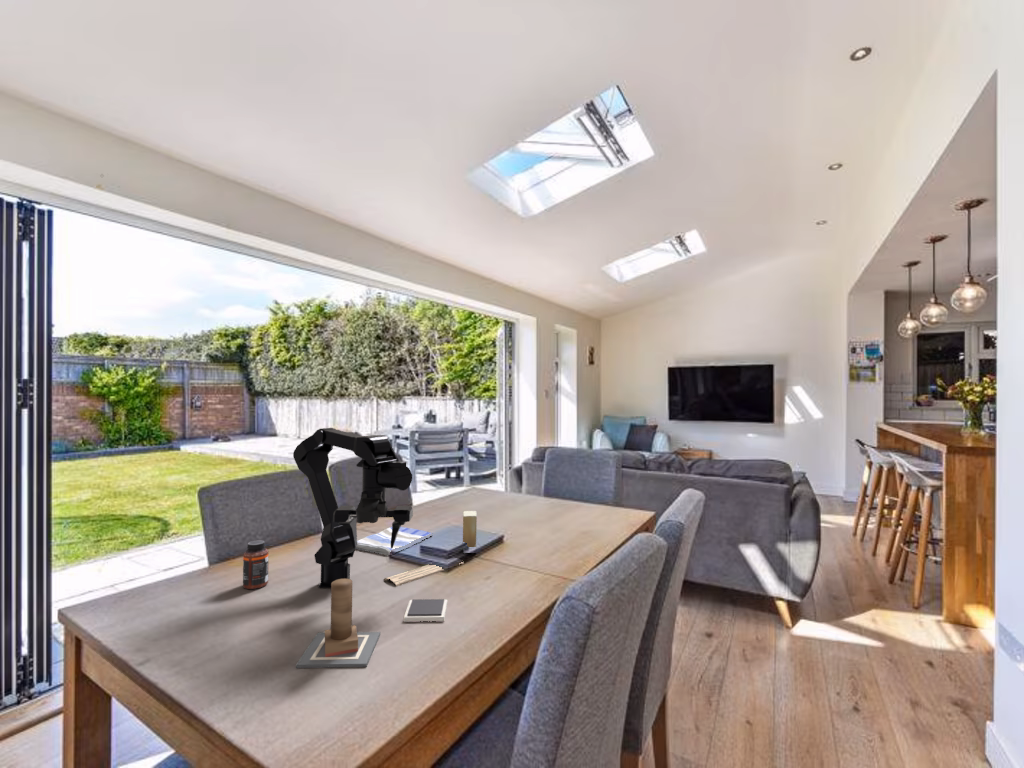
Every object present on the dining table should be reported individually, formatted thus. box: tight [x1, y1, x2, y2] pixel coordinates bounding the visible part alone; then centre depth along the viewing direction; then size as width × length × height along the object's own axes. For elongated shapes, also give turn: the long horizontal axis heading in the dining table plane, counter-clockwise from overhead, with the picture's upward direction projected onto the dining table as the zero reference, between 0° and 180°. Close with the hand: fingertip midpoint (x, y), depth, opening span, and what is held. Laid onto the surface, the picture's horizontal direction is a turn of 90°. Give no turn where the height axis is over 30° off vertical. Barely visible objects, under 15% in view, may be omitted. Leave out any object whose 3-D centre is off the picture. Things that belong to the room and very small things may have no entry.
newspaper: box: [383, 561, 465, 587], centre depth 140 cm, size 24×7×2 cm, turn 137°
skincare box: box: [462, 510, 478, 548], centre depth 158 cm, size 6×4×12 cm
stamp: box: [324, 579, 358, 657], centre depth 98 cm, size 6×6×13 cm
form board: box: [295, 631, 381, 669], centre depth 98 cm, size 13×12×1 cm
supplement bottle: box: [242, 539, 270, 590], centre depth 129 cm, size 6×6×11 cm
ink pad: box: [403, 598, 448, 623], centre depth 115 cm, size 9×9×1 cm
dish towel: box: [355, 526, 432, 556], centre depth 166 cm, size 17×24×3 cm
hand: (373, 547), depth 124 cm, fingers open, 9 cm apart
